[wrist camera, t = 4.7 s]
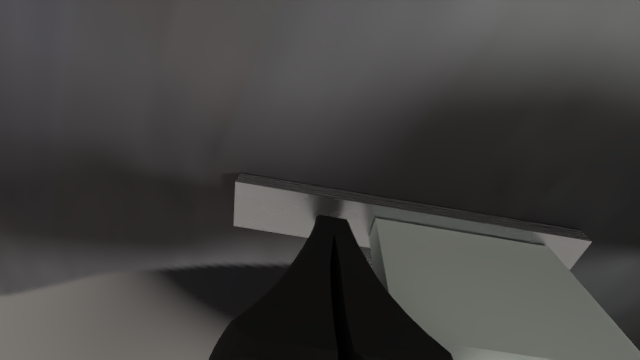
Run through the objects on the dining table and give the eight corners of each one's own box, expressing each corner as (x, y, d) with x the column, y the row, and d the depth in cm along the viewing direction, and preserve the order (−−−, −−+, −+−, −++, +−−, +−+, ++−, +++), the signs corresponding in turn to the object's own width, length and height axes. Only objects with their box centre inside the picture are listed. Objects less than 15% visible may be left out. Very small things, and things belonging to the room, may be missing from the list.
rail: (580, 230, 15) (592, 241, 14) (552, 266, 16) (562, 279, 15) (240, 172, 14) (235, 181, 13) (238, 215, 15) (233, 225, 14)
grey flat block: (548, 246, 14) (660, 375, 9) (535, 265, 15) (633, 396, 10) (375, 218, 14) (396, 335, 9) (368, 239, 14) (385, 359, 10)
